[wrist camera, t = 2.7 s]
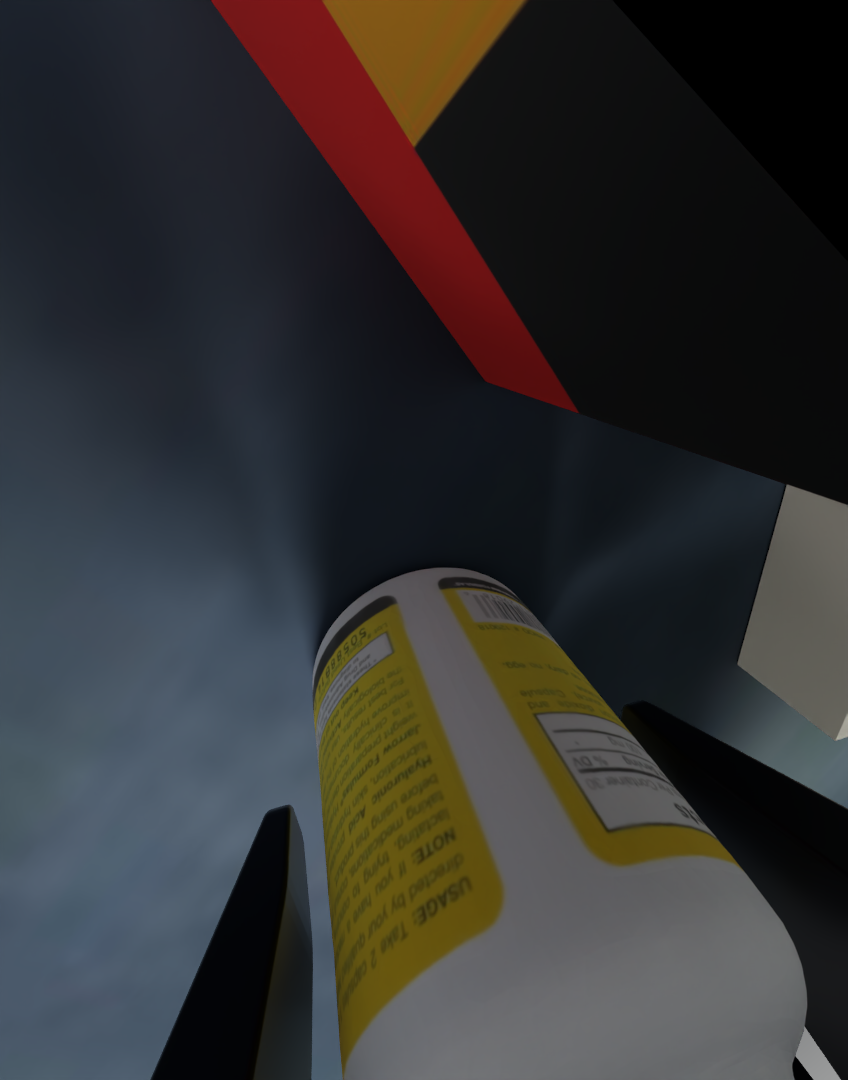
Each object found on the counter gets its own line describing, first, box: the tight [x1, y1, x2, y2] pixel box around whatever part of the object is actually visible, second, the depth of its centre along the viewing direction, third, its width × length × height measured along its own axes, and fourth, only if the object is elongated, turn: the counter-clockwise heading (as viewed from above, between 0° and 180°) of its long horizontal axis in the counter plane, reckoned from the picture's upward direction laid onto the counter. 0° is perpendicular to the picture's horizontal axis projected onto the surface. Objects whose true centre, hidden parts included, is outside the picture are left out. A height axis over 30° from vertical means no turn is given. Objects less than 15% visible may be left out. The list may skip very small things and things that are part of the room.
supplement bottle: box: [313, 568, 807, 1080], centre depth 7 cm, size 5×5×10 cm
